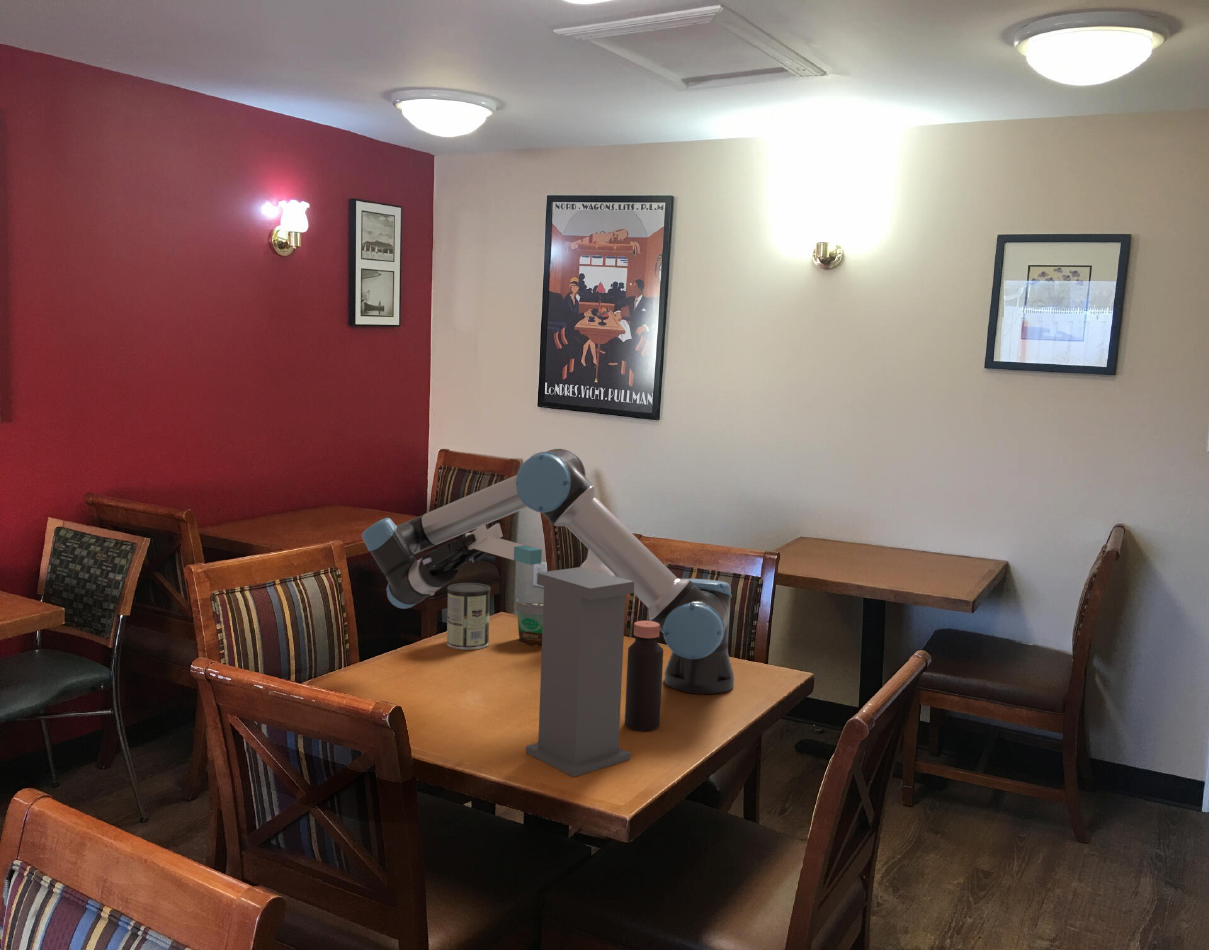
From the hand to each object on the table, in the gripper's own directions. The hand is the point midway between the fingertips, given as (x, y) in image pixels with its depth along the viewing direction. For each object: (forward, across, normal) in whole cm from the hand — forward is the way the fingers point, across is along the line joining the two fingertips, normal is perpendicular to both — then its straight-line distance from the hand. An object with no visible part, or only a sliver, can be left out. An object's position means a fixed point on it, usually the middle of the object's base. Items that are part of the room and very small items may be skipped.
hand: (492, 530), depth 194 cm
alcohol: (-39, -50, -19) cm, 66 cm away
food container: (-45, -37, -15) cm, 60 cm away
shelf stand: (+7, +1, -45) cm, 46 cm away
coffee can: (-53, -23, -11) cm, 58 cm away
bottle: (+3, -19, -43) cm, 47 cm away
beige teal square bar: (+1, 0, -5) cm, 5 cm away
